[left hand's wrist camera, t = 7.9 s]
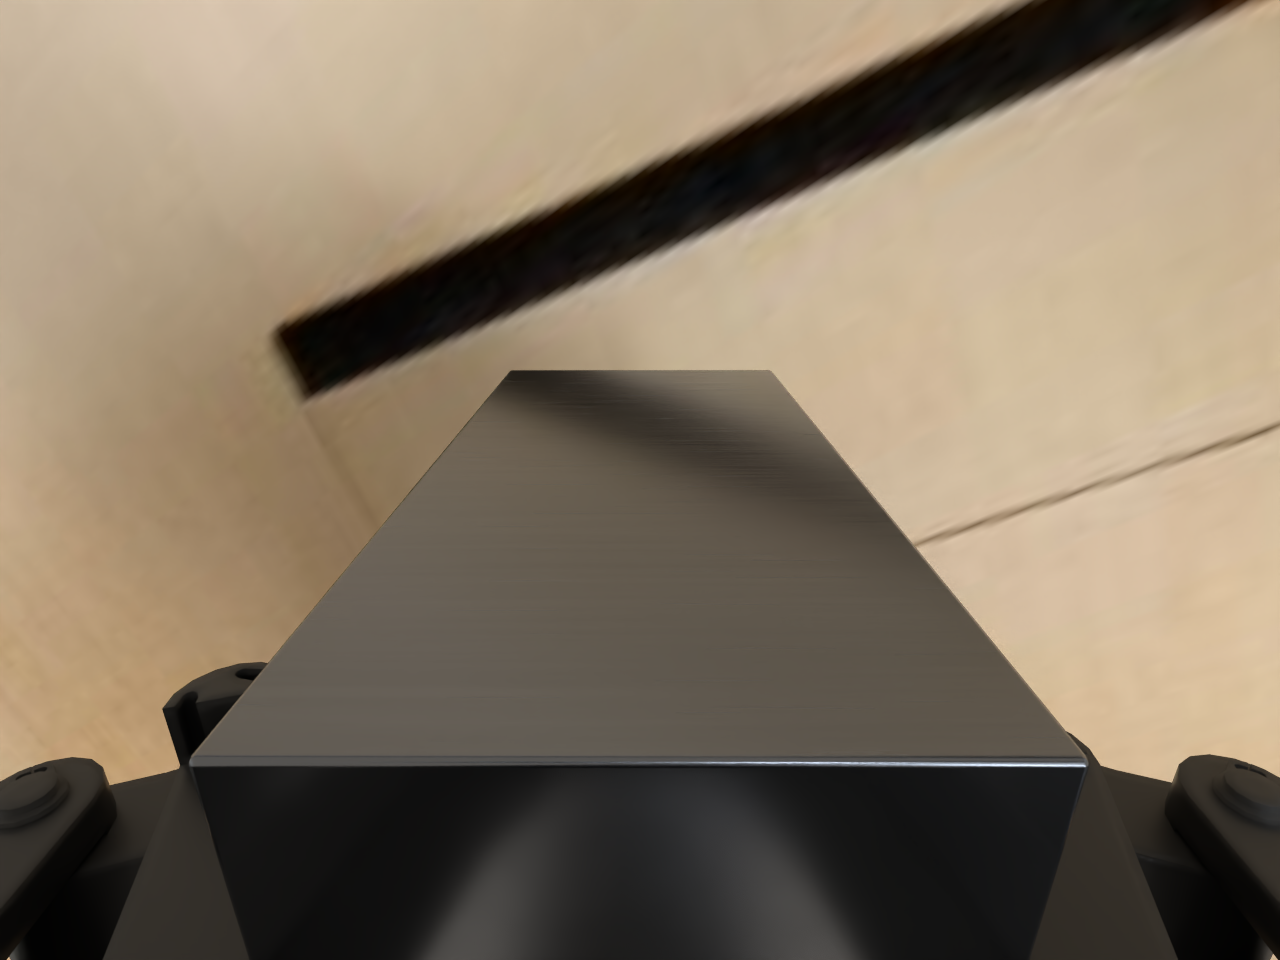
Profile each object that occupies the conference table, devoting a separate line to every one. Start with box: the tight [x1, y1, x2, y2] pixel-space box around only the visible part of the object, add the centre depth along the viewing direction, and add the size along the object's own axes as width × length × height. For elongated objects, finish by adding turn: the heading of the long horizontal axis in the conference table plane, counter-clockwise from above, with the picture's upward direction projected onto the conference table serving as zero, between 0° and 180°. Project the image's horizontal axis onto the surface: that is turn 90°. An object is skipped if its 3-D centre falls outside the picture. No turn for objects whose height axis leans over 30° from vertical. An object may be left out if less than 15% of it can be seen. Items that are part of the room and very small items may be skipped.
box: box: [189, 370, 1089, 960], centre depth 14 cm, size 21×6×12 cm, turn 0°
